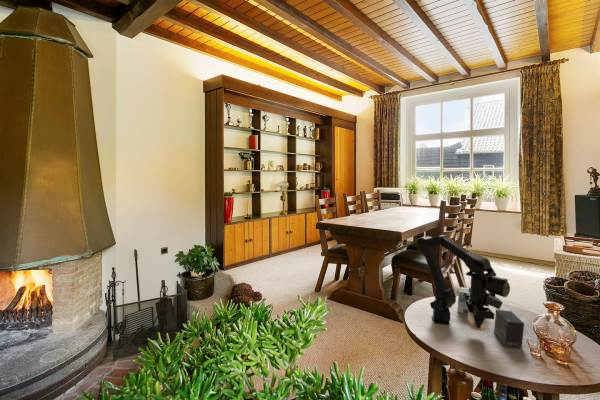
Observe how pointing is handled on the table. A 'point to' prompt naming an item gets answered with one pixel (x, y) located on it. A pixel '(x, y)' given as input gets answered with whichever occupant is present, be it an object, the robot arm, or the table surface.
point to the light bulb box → (462, 301)
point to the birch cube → (472, 323)
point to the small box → (508, 328)
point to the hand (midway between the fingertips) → (476, 324)
